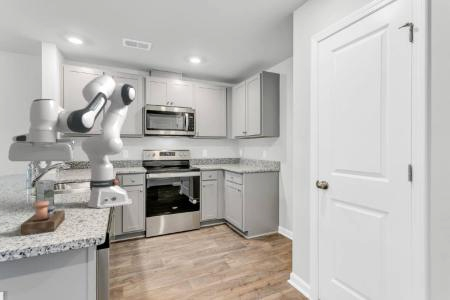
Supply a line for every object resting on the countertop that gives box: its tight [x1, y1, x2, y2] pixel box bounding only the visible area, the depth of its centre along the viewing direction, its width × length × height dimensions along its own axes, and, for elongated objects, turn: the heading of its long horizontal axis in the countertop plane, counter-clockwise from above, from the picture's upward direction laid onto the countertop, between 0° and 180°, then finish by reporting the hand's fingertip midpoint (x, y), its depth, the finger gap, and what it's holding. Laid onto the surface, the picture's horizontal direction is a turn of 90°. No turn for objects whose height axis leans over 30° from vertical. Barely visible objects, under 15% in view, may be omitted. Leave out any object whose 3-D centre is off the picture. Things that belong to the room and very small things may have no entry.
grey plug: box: [47, 205, 56, 216], centre depth 93 cm, size 5×5×6 cm
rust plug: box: [32, 201, 49, 220], centre depth 85 cm, size 5×5×6 cm
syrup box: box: [34, 179, 55, 206], centre depth 118 cm, size 6×6×14 cm
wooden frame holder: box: [20, 210, 66, 237], centre depth 89 cm, size 10×16×4 cm, turn 25°
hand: (42, 172), depth 88 cm, fingers closed
